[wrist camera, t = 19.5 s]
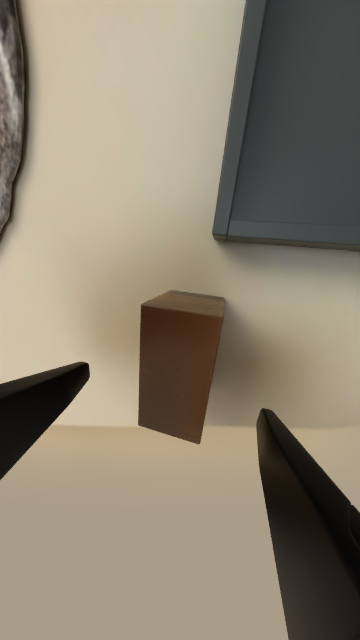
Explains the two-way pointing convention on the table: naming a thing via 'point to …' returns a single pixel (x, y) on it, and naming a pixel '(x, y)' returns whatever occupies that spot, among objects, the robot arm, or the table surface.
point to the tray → (294, 128)
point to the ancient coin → (10, 103)
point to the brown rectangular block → (178, 361)
